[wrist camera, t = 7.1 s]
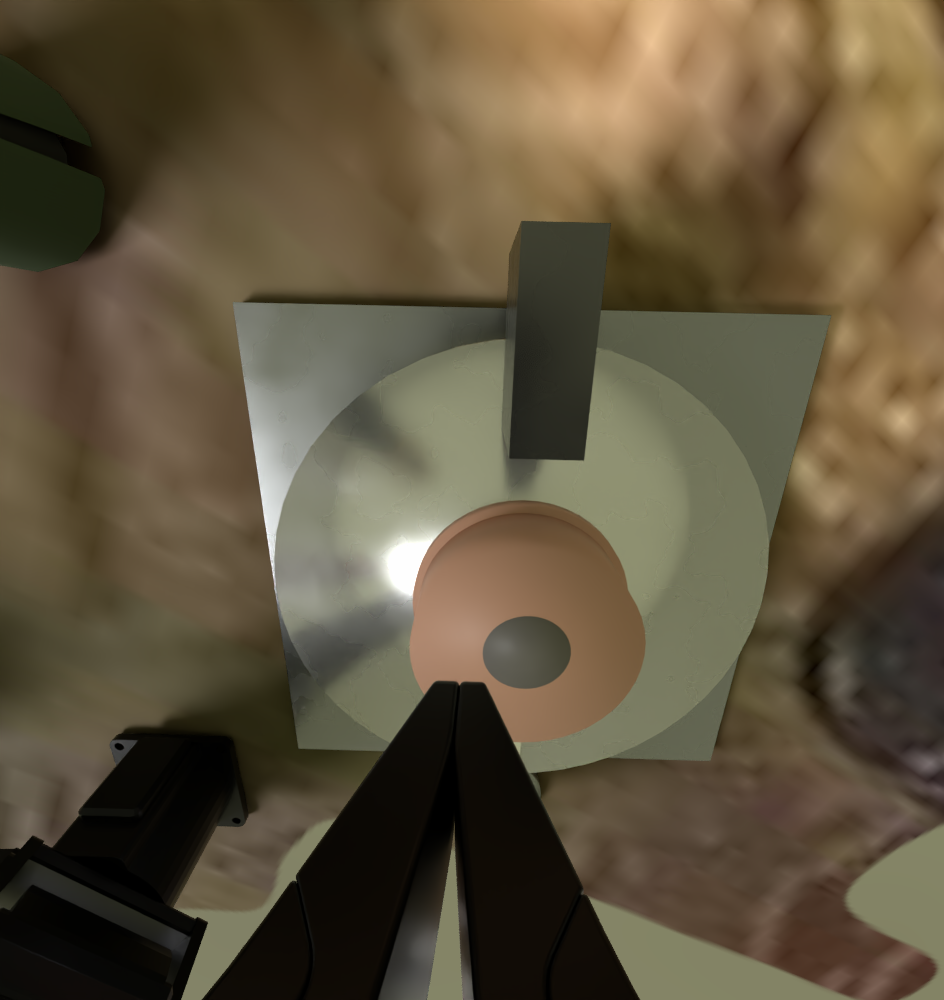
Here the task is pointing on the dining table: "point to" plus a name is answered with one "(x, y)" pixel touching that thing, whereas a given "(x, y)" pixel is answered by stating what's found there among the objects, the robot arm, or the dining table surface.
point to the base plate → (430, 330)
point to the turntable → (526, 476)
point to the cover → (528, 617)
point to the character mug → (41, 177)
